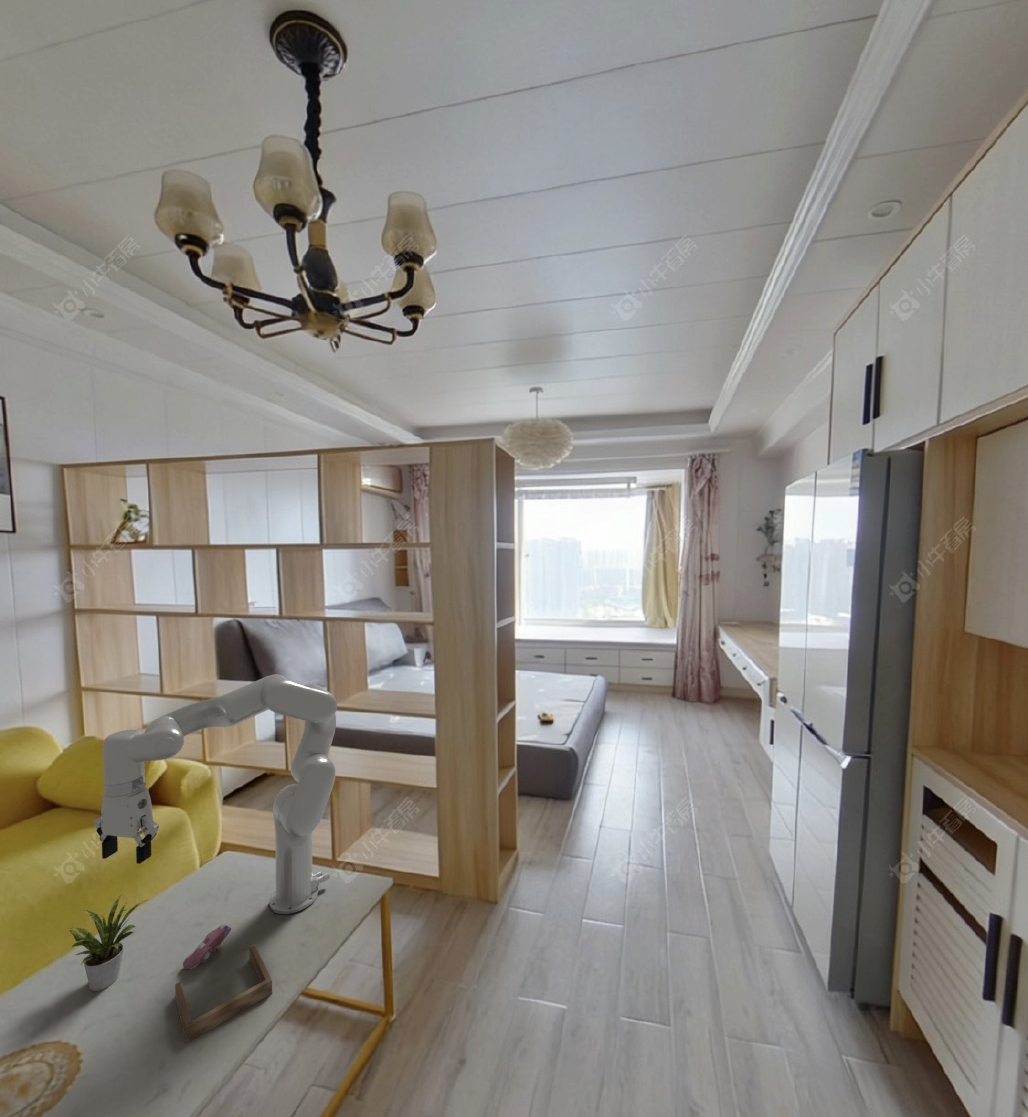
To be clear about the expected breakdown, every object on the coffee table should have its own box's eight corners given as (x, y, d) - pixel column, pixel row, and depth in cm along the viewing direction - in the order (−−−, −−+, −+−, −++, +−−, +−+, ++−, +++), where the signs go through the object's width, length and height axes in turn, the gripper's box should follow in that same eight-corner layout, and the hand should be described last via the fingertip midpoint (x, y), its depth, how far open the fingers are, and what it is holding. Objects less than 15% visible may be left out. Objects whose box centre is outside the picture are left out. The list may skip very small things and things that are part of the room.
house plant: (140, 941, 123) (139, 877, 123) (157, 971, 114) (156, 902, 114) (63, 980, 112) (62, 909, 112) (76, 1016, 103) (75, 940, 103)
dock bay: (254, 956, 118) (254, 944, 118) (272, 993, 108) (272, 980, 108) (175, 997, 107) (175, 984, 107) (186, 1042, 97) (186, 1028, 97)
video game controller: (194, 979, 114) (205, 955, 113) (179, 968, 114) (190, 943, 114) (226, 946, 123) (237, 923, 123) (213, 935, 124) (223, 913, 123)
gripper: (170, 781, 116) (172, 852, 116) (111, 775, 119) (113, 844, 120) (140, 796, 108) (142, 872, 109) (78, 790, 112) (80, 863, 112)
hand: (126, 857), depth 114 cm, fingers open, 9 cm apart
